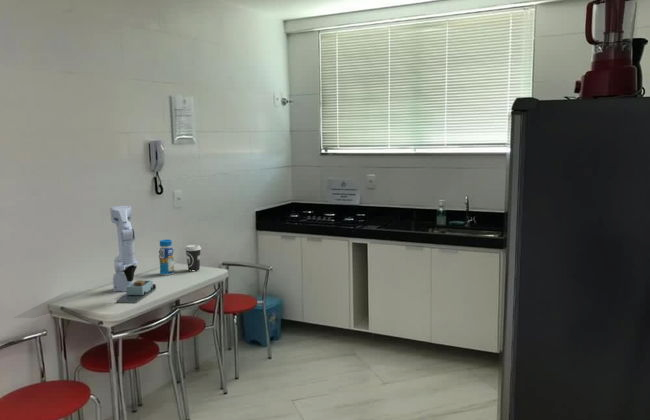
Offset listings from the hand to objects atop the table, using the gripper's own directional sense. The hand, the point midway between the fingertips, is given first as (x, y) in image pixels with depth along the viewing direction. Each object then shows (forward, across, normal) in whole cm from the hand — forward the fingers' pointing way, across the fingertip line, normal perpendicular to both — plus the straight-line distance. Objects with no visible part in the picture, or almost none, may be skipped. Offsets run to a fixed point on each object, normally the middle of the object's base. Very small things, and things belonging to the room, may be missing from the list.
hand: (130, 281), depth 252 cm
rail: (+9, +6, 0) cm, 11 cm away
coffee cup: (+10, +60, -11) cm, 61 cm away
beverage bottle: (+10, +50, +2) cm, 51 cm away
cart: (+8, +10, 0) cm, 13 cm away
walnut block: (+8, +10, 0) cm, 13 cm away
